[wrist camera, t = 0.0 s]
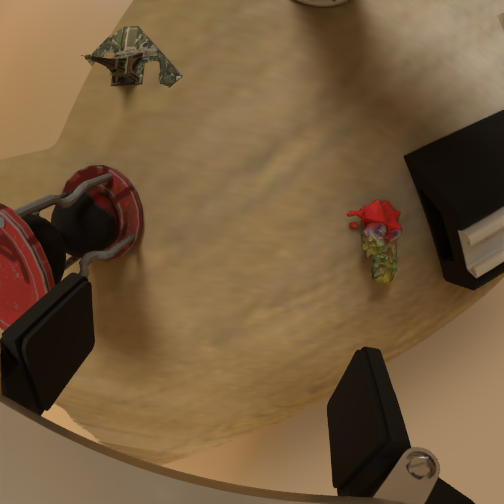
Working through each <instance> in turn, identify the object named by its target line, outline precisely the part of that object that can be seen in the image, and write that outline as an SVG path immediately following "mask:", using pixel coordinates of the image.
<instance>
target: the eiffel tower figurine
mask: <svg viewBox="0 0 504 504" xmlns="http://www.w3.org/2000/svg"><path fill="white" fill-rule="evenodd" d="M109 37H110V36H109ZM109 37H108V38H107V39H106V40H105V41H104V42H103V43H102V44H101V45H100V46H99V47H98V48H97V49H96V50H95V51H94V52H93V53H92V55H85V59H86V60H88V62H89V63H90V64H91V66H93V64H94V63H95V62H97V63H100V64H102V65H104V66H106V67H107V69H109V70H110V75H112V79H111V86H119V85H139V84H142V82H143V73H144V65H145V63H146V62H150V61H159V63H160V74H159V82H160V84H163V85H166V86H168V87H171V86H172V85H173V84H174V83H175V82H176V81H177V80H178V79H179V78H180V77H181V76H182V75H181V74H180V73H179V72H178V71H177V70H176V68H175V67H174V66H173V65H172V64H171V62H170V61H169V60H168V59H167V58H166V57H165V56H164V54H163V53H162V52H161V51H160V50H159V49H158V48H157V47H156V46H155V45H154V43H153V42H152V41H151V40H150V39H149V38H148V37H147V36H146V34H145V33H144V32H143V31H142V30H141V29H140V28H139V27H138V26H132V27H124V28H122V29H120V30H119V31H117V33H116V34H114V35H113V36H112V37H111V38H109ZM109 52H113V53H115V56H114V57H113V58H111V59H108V58H101V57H103V56H105V55H106V54H107V53H109Z"/></svg>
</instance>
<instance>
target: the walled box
mask: <svg viewBox="0 0 504 504" xmlns="http://www.w3.org/2000/svg"><path fill="white" fill-rule="evenodd" d="M498 17H499V20H500V22H501V24H502V26H503V29H504V13H502V14H499V15H498Z"/></svg>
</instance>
